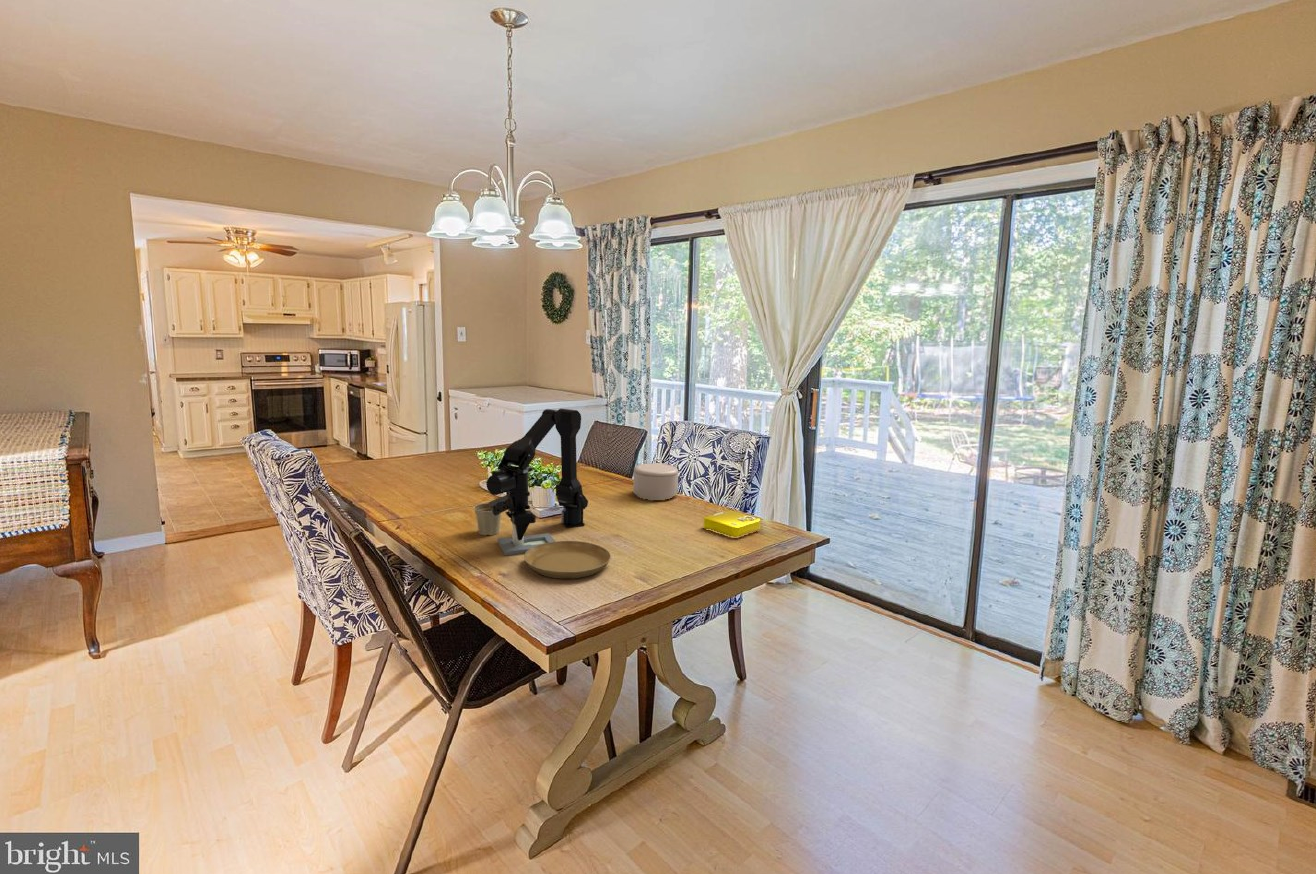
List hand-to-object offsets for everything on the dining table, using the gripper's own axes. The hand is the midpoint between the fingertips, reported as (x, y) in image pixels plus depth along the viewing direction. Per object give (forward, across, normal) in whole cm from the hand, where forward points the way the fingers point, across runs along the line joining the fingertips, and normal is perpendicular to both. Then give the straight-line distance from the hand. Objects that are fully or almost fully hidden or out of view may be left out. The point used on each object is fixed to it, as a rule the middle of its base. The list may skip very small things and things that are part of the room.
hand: (518, 538), depth 187 cm
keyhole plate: (+3, 0, +3) cm, 4 cm away
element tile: (+3, +6, +71) cm, 72 cm away
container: (+3, -41, +64) cm, 76 cm away
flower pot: (+3, -16, -6) cm, 17 cm away
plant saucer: (+3, +19, +10) cm, 21 cm away
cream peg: (+2, 0, 0) cm, 3 cm away
